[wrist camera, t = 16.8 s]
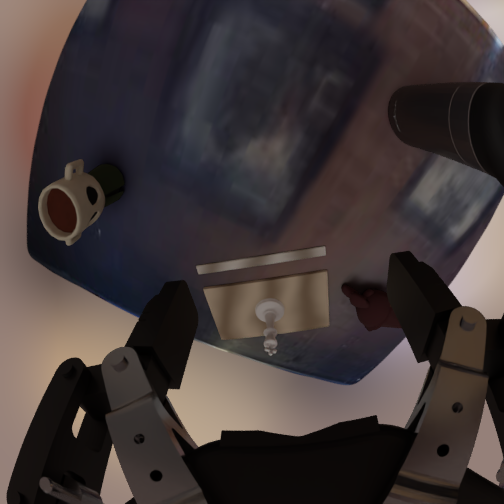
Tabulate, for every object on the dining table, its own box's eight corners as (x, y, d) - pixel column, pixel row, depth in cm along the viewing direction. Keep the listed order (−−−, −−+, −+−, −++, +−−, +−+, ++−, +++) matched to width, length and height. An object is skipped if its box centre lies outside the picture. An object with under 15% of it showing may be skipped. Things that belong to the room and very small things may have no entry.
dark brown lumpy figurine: (424, 318, 39) (368, 277, 37) (398, 352, 40) (339, 318, 38) (405, 303, 45) (352, 264, 43) (382, 334, 47) (326, 300, 45)
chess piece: (260, 294, 44) (260, 339, 35) (289, 302, 44) (293, 347, 36) (251, 316, 46) (248, 360, 37) (277, 323, 47) (280, 367, 38)
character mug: (125, 220, 39) (81, 261, 28) (89, 210, 38) (41, 246, 27) (133, 151, 34) (81, 172, 23) (94, 145, 33) (37, 163, 22)
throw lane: (324, 245, 40) (325, 247, 39) (328, 323, 47) (329, 326, 47) (196, 265, 42) (195, 267, 42) (222, 337, 50) (222, 339, 49)
